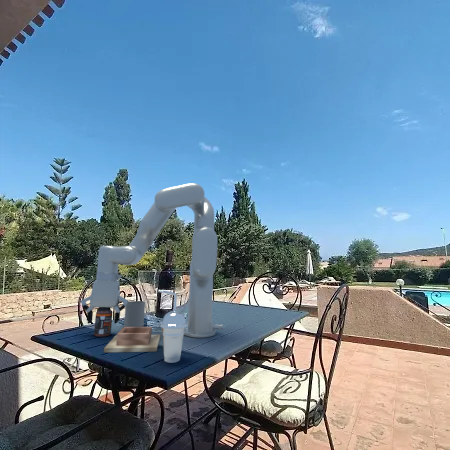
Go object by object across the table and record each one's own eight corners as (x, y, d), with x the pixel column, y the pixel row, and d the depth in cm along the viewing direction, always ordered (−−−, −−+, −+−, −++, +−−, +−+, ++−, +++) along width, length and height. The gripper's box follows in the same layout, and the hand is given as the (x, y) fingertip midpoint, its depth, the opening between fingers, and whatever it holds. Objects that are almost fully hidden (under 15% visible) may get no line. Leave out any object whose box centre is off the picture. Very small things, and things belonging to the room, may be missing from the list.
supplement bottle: (104, 337, 102) (107, 306, 104) (90, 336, 103) (92, 305, 105) (114, 333, 108) (116, 304, 109) (100, 332, 109) (102, 303, 111)
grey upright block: (132, 328, 117) (134, 304, 118) (119, 326, 121) (121, 302, 123) (147, 325, 124) (149, 302, 125) (135, 322, 128) (136, 300, 130)
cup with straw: (176, 367, 76) (179, 292, 78) (149, 361, 79) (153, 290, 82) (192, 357, 83) (194, 289, 86) (167, 353, 87) (170, 288, 90)
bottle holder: (160, 337, 104) (161, 324, 105) (156, 351, 88) (157, 336, 89) (115, 338, 102) (116, 325, 102) (103, 352, 86) (104, 336, 87)
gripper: (131, 277, 114) (128, 320, 111) (86, 276, 111) (82, 320, 109) (128, 278, 106) (124, 325, 104) (80, 277, 104) (75, 325, 101)
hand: (103, 322), depth 106 cm, fingers open, 9 cm apart
